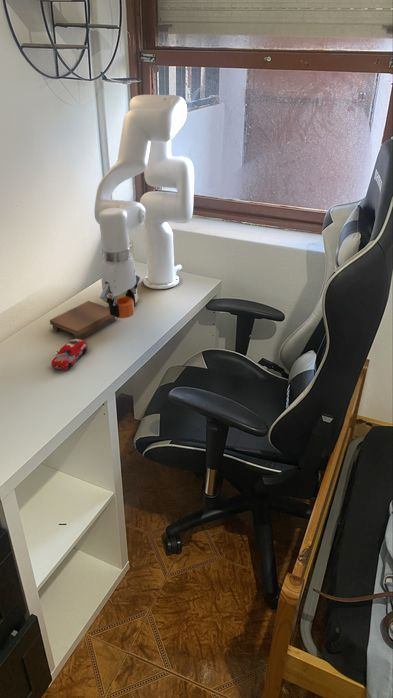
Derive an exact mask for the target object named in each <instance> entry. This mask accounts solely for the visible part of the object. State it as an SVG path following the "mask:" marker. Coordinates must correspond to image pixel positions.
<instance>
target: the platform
mask: <svg viewBox="0 0 393 698" xmlns="http://www.w3.org/2000/svg"><path fill="white" fill-rule="evenodd" d="M116 321H117V317H114V316H113V315H111V314H110V309H109V306H105V305H102V304H99V303H96V302H94V301H91V300H87V301H85V302H83V303H81V304H79V305H77V306H75V307H73V308H70V309H69V310H66V311H65V312H63V313H61V314H58V315H57V316H55V317H53V318H51V319H49V324H50V326H51V327H52V331H54V332H60V331H62V330H63V331H65V332H68V333H70V334H72V335H74V339H81V340H84V339H86V338H88V337H90V336H91V335H93V334H95V333H97V332H98V331H100V330H102V329H104V328H106V327H107V326H110V325H111V324H113V323H114V322H116Z"/></svg>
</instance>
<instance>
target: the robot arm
mask: <svg viewBox="0 0 393 698" xmlns="http://www.w3.org/2000/svg"><path fill="white" fill-rule="evenodd" d="M128 104H129V105H128V106H129V110H127V112H126V113H125V115H124V118H123V120H122V128H121V134H120V140H119V141H120V142H119V148H118V153H117V154H118V155H117V160H116V162H115V164H113V166H111V167H110V168H109V169H108V171H106V173H105V174H104V176H103V177H102V178H101V180H100V181H99V184H98V186H97V188H96V194H95V201H94V211H93V214H94V219H95V221H96V222H97V224H98V225H99V231H100V239H101V249H102V248H103V252H102V257H103V256H104V260H102V261H101V268H100V269H101V271H100V272H101V273H100V274H101V276H100V277H101V278H100V280H101V289H102V291H101V293H100V295H99V298H100V299H101V300H102V301H104V302H105V303H106V304H108V308H109V309H110V314H111V315H113V316H116V318H117V317H119V307H118V304H116V303H117V298H118V295H120V294H121V293H123V292H125V291H127V293H126V296H128V297H131V298H132V299H133V301H134V308H136V307H137V305H136V304H137V302H136V303H135V294H136V289H137V290H138V284H139V283H140V280H141V277H140V276H138V275H137V273H136V267H134V265H135V261H134V262H133V259H132V256H131V254H130V249H131V246H130V243H129V240H130V235H129V232H132V231H134V230H137V229H139V228H140V227H142V225H143V231H144V242H145V243H144V244H145V257H146V258H145V260H146V272H147V273H146V274H147V275H146V276H145V277H143V279H142V280H143V285H144V286H146V288H150V289H153V290H166V289H170V288H174V287H176V286H177V285H178V284H179V283H180V277H179V276H178V275H177V273H178V272H179V271H181V270H182V269H183V267H182V265H181V264H177V265H175V252H174V251H175V249H174V247H175V246H174V233H173V230H172V228H171V226H170V225H169V223H173V224H188V223H189V222H190V221H191V220H192V218H193V214H194V197H195V195H194V193H195V171H194V165H193V162H192V161H191V159H190V158H187V157H185V156H172V141H171V140H173V138H175V136H176V134H178V132H179V131H180V129H181V128H182V127H183V126H184V124H185V122H186V119H187V114H188V108H187V107H188V106H187V103H186V101H185V99H184V98H183V97H182V96H181V95H177V94H138V95H135V96H133V97H132V98H130V100H129V103H128ZM140 174H143V175H144V176H143V177H144V180H145V183H146V184H147V185H148V186H150V187H153V188H164V189H165V188H166V189H176V190H177V191H176V192H173V191H172V192H171V191H160V190H159V191H156V190H153V191H152V190H151V191H147V192H145V193H144V194H143V195H142V196H141V197H140V199H139V201H134V200H133V201H132V200H123V199H122V200H121V199H112V195H113V193H114V192H115V190H116V188H117V187H119V185H120V184H122V183H123V182H125V181H127V180H129V179H132V178H133V177H136V176H139V175H140ZM112 296H114V297H113V300H112V299H111V298H112Z"/></svg>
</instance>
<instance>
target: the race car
mask: <svg viewBox="0 0 393 698" xmlns="http://www.w3.org/2000/svg"><path fill="white" fill-rule="evenodd" d="M87 350H88V344H87V342H86V340H84V339H82V340H81V339H75V338H74V339H71V340H69V341H67V342H65V344H63V345H62V347H60V348H59V350H56V353H57V354H56V355H55V356H54V357H53V359H51V361H50V365H51V368H52V369H53V370H56V371H66V370H71V369H72V367H73V366H74V365H75V364H76V363H77V361H79V360H80V358H81V357H83V356H84V355H85V354H86V353H87Z"/></svg>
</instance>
